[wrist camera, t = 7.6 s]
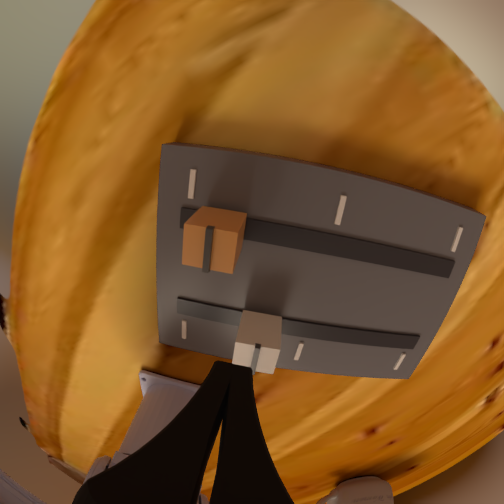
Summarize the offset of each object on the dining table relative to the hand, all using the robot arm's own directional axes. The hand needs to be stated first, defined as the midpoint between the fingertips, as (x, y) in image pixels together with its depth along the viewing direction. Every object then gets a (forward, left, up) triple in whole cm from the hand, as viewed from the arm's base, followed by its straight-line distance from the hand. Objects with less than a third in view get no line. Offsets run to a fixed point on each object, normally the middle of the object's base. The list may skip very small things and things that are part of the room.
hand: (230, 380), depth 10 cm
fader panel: (0, -4, -9) cm, 10 cm away
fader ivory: (-3, -1, -7) cm, 8 cm away
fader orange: (+3, +2, -7) cm, 8 cm away
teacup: (-35, -21, -10) cm, 42 cm away
